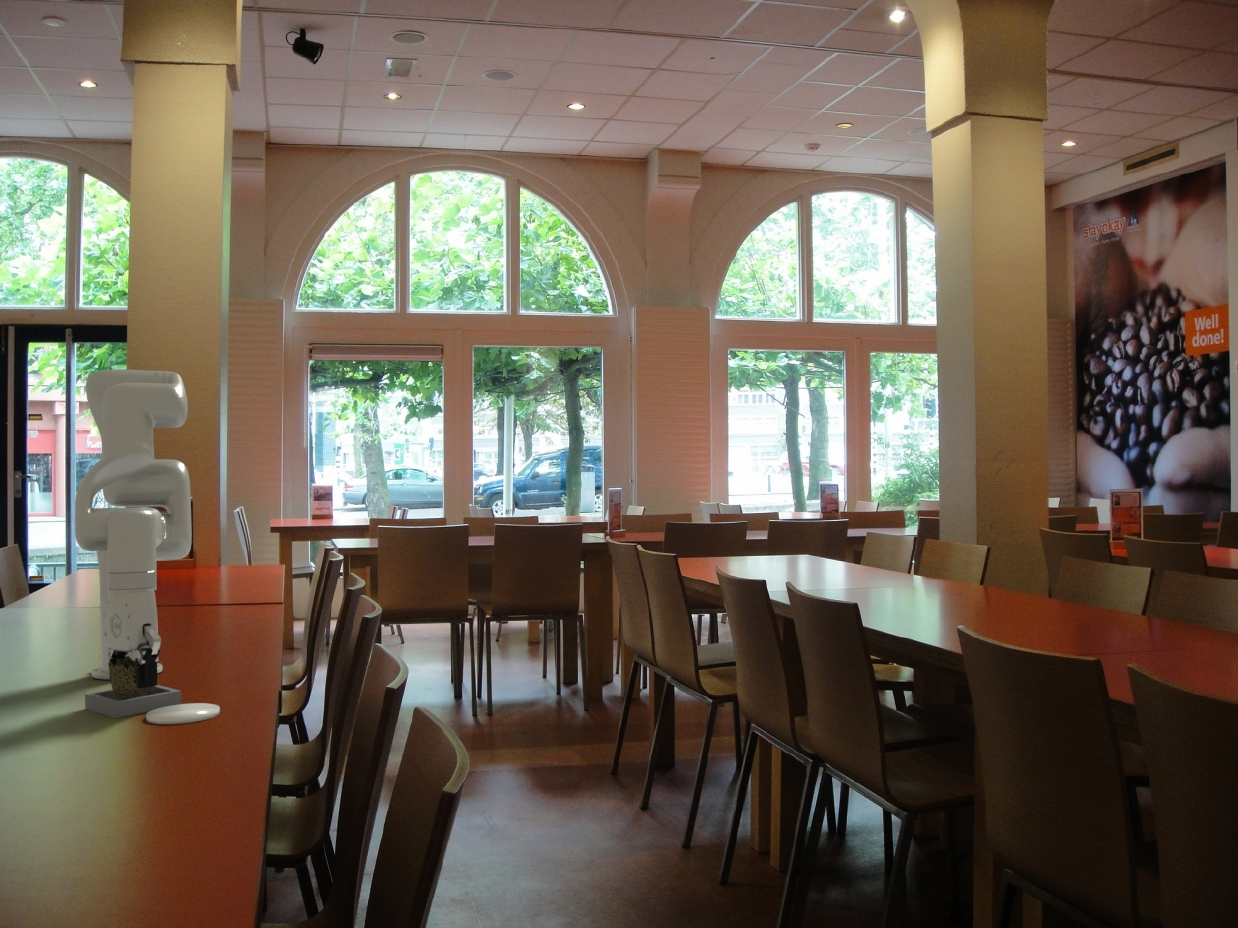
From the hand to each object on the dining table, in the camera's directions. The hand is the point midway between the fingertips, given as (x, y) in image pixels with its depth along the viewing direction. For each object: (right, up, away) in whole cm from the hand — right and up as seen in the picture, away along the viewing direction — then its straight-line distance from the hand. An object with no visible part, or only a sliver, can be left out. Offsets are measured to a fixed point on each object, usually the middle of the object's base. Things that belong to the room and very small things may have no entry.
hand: (133, 683), depth 171 cm
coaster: (+11, -4, -6) cm, 13 cm away
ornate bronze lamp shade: (0, -4, 0) cm, 4 cm away
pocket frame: (0, -4, 0) cm, 4 cm away
